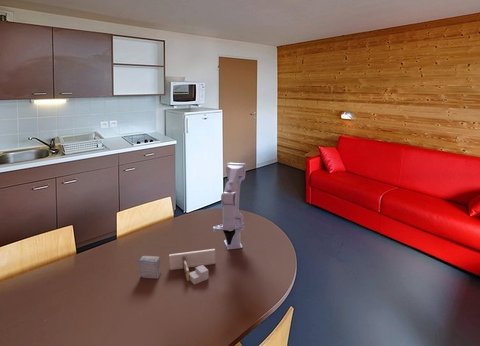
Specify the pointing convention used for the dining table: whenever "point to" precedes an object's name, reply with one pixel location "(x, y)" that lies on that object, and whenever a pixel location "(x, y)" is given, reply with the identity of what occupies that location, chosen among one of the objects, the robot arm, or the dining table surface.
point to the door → (186, 270)
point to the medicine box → (150, 267)
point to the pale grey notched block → (198, 274)
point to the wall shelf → (192, 259)
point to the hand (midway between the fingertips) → (228, 243)
